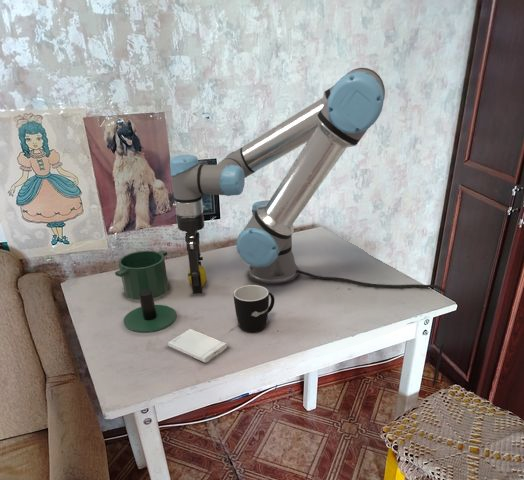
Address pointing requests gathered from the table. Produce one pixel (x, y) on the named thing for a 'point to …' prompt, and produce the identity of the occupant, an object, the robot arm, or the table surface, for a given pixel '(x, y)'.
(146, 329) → the lid
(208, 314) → the table surface
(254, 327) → the mug
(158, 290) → the pot
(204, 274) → the lemon
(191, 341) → the hard drive
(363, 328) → the table surface
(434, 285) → the robot arm
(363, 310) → the table surface
